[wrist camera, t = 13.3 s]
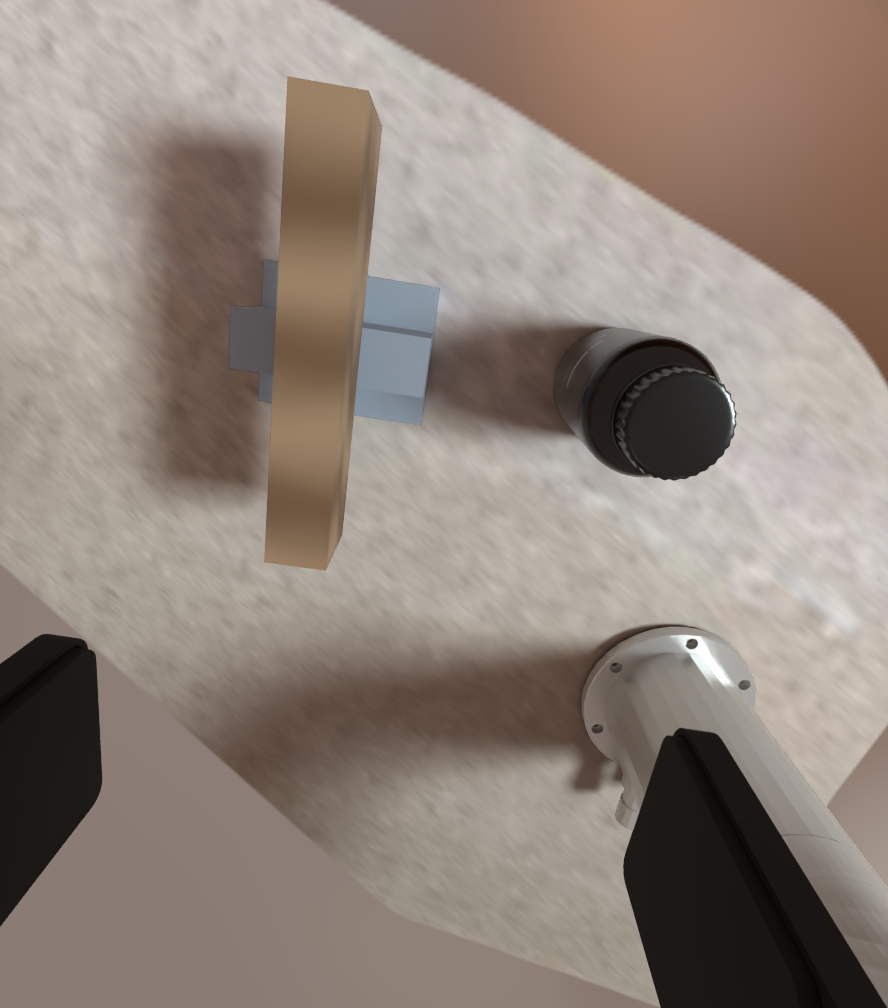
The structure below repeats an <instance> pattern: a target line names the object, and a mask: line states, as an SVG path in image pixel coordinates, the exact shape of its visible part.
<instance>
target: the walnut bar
mask: <svg viewBox="0 0 888 1008" xmlns="http://www.w3.org/2000/svg"><path fill="white" fill-rule="evenodd" d="M381 132H382V125H381V122H380V120H379V117H378V114H377V112H376V109H375V106H374V104H373V101H372V98H371V96H370V93H369V91H368V90H362V89H356V88H351V87H345V86H339V85H334V84H328V83H322V82H316V81H311V80H305V79H299V78H294V77H288V81H287V102H286V122H285V143H284V164H283V185H282V206H281V227H280V247H279V268H278V289H277V310H276V331H275V352H274V372H273V393H272V414H271V435H270V456H269V476H268V497H267V518H266V539H265V560H264V562H267V563H275V564H282V565H289V566H296V567H303V568H311V569H318V570H325V571H326V569H327V567H328V565H329V562H330V560H331V558H332V556H333V554H334V551H335V549H336V547H337V545H338V543H339V541H340V538H341V536H342V531H343V521H344V510H345V500H346V490H347V480H348V469H349V459H350V449H351V439H352V428H353V418H354V408H355V398H356V388H357V377H358V367H359V357H360V347H361V336H362V326H363V316H364V306H365V295H366V285H367V275H368V265H369V255H370V244H371V234H372V224H373V214H374V203H375V193H376V183H377V173H378V162H379V152H380V142H381Z"/></svg>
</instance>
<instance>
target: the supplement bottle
mask: <svg viewBox="0 0 888 1008" xmlns="http://www.w3.org/2000/svg"><path fill="white" fill-rule="evenodd" d="M554 396H555V401H556V405H557V408H558V410H559V413H560V415H561V416H562V418H563V420H564V421H565V422H566V424H567V425H568V426H569V427H570V429H571V430H572V431H573V432H574V433H575V434H576V435H577V437H578V438H579V439H580V440H581V441H582V442H583V444H584V445H585V446H586V447H587V448H588V449H589V451H590V452H591V453H592V454H593V455H594V456H595V457H596V458H597V459H598V460H599V461H600V462H602V463H603V464H604V465H605V466H607V467H608V468H610V469H612V470H614V471H616V472H618V473H621V474H624V475H628V476H633V477H654V478H658V477H659V478H661V479H663V480H667V479H671V480H674V481H675V480H678V479H686V478H688V477H690V476H696V475H697V474H699V473H700V472H702V471H705V470H707V469H708V467H709V466H711V465H713V464H715V463H716V461H717V460H718V458H720V457H721V456H722V455H723V454H724V451H725V449H727V448H728V447H729V446H730V440H731V439H732V438H733V436H734V428H735V426H736V421H735V418H736V411H735V410H734V406H735V403H734V402H733V401H732V400H731V394H730V393H729V392H728V391H726V389H725V386H724V384H722V383H721V381H720V378H719V376H718V373H717V371H716V369H715V367H714V366H713V364H712V363H711V362H710V360H709V359H708V358H707V357H706V356H705V355H704V354H703V353H702V352H701V351H699V350H698V349H697V348H695V347H693V346H692V345H690V344H688V343H685V342H683V341H680V340H677V339H674V338H670V337H665V336H660V335H655V334H650V333H646V332H641V331H636V330H631V329H625V328H608V329H602V330H599V331H596V332H593V333H591V334H589V335H587V336H585V337H583V338H582V339H580V340H579V341H578V342H577V343H575V344H574V345H573V346H572V347H571V348H570V349H569V351H568V352H567V353H566V354H565V356H564V357H563V359H562V361H561V363H560V365H559V367H558V370H557V373H556V377H555V382H554Z"/></svg>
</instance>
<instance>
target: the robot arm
mask: <svg viewBox="0 0 888 1008" xmlns="http://www.w3.org/2000/svg"><path fill="white" fill-rule="evenodd" d="M97 687H98V686H97V666H96V655H95V653H94V651H92V650H89V649H88V647H87V644H86V642H85V641H84V640H82V639H79V638H71V637H65V636H58V635H51V634H42V635H40V636H38V637H37V638H35V639H34V640H33V641H31V642H30V643H28V644H27V645H26V646H24V647H23V648H22V649H20V650H19V651H18V652H16V653H15V654H13V655H12V656H11V657H9V658H8V659H7V660H5V661H4V662H2V663H1V664H0V926H1V925H2V924H3V922H4V921H5V920H6V918H7V917H8V916H9V914H10V913H11V912H12V910H13V909H14V908H15V907H16V905H17V904H18V903H19V901H20V900H21V899H22V897H23V896H24V895H25V893H26V892H27V891H28V890H29V888H30V887H31V886H32V884H33V883H34V882H35V880H36V879H37V878H38V877H39V875H40V874H41V873H42V871H43V870H44V869H45V868H46V866H47V865H48V864H49V862H50V861H51V860H52V858H53V857H54V856H55V855H56V853H57V852H58V850H59V849H60V848H61V847H62V845H63V844H64V843H65V842H66V840H67V839H68V837H69V836H70V835H71V834H72V832H73V831H74V830H75V828H76V827H77V826H78V824H79V823H80V822H81V821H82V819H83V818H84V817H85V815H86V814H87V813H88V812H89V810H90V809H91V808H92V806H93V805H94V803H95V802H96V800H97V798H98V795H99V793H100V790H101V785H102V765H101V746H100V727H99V706H98V688H97ZM755 702H756V687H755V681H754V677H753V675H752V673H751V670H750V668H749V666H748V664H747V663H746V662H745V661H744V659H743V658H742V657H741V655H740V654H739V653H738V652H737V651H736V650H735V649H734V648H733V647H732V646H731V645H730V644H729V643H728V642H726V641H724V640H723V639H721V638H720V637H718V636H717V635H714V634H711V633H709V632H706V631H704V630H700V629H694V628H689V627H664V628H658V629H652V630H649V631H645V632H642V633H639V634H636V635H634V636H632V637H630V638H628V639H626V640H624V641H622V642H620V643H619V644H618V645H616V646H615V647H613V648H612V649H611V650H609V651H608V652H607V653H606V654H605V655H604V656H603V657H602V658H601V659H600V660H599V661H598V662H597V663H596V665H595V666H594V668H593V669H592V671H591V672H590V674H589V675H588V678H587V680H586V683H585V685H584V688H583V693H582V699H581V708H582V716H583V720H584V723H585V727H586V730H587V732H588V734H589V736H590V738H591V740H592V742H593V743H594V744H595V746H596V747H597V748H598V749H599V751H601V752H602V753H603V754H604V755H605V756H607V757H608V758H609V759H611V760H612V761H614V762H616V763H618V764H619V765H620V766H621V769H622V772H623V777H622V785H623V787H624V791H623V793H622V794H621V797H620V800H619V803H618V806H617V809H616V812H615V817H616V820H617V821H618V822H619V823H620V824H621V825H622V826H624V827H625V828H627V829H632V830H633V832H632V835H631V838H630V841H629V844H628V847H627V850H626V854H625V857H624V865H623V868H624V880H625V884H626V888H627V891H628V895H629V898H630V902H631V905H632V909H633V912H634V916H635V919H636V923H637V926H638V930H639V933H640V937H641V940H642V944H643V947H644V951H645V954H646V958H647V961H648V965H649V968H650V972H651V975H652V978H653V982H654V985H655V989H656V992H657V996H658V999H659V1003H660V1006H661V1008H888V888H887V887H886V885H885V884H884V883H883V882H882V880H881V879H880V878H879V876H878V875H877V873H876V872H875V871H874V869H873V868H872V867H871V866H870V864H869V863H868V862H867V860H866V859H865V858H864V857H863V855H862V854H861V853H860V851H859V850H858V849H857V847H856V846H855V845H854V843H853V842H852V841H851V839H850V838H849V837H848V835H847V834H846V833H845V831H844V830H843V828H842V827H841V826H840V824H839V823H838V822H837V821H836V819H835V818H834V817H833V815H832V814H831V812H830V811H829V810H828V808H827V807H826V806H825V804H824V803H823V802H822V800H821V799H820V798H819V796H818V795H817V794H816V792H815V791H814V790H813V788H812V787H811V786H810V784H809V783H808V782H807V780H806V779H805V778H804V776H803V775H802V774H801V772H800V771H799V770H798V768H797V767H796V766H795V764H794V763H793V762H792V760H791V759H790V758H789V756H788V755H787V754H786V752H785V751H784V750H783V748H782V747H781V746H780V744H779V743H778V742H777V740H776V739H775V738H774V736H773V735H772V734H771V732H770V731H769V730H768V728H767V727H766V726H765V724H764V723H763V722H762V720H761V719H760V718H759V716H758V715H757V714H756V712H755V711H754V707H755Z"/></svg>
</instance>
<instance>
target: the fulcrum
mask: <svg viewBox="0 0 888 1008" xmlns="http://www.w3.org/2000/svg"><path fill="white" fill-rule="evenodd" d="M278 268H279V262H277V261H270V260H264V266H263V291H262V306H242V307H230V341H229V368H230V369H237V370H243V371H250V372H256V373H259V390H258V401H263V402H270V403H272V393H273V372H274V352H275V331H276V310H277V289H278ZM439 293H440V288H437V287H431V286H424V285H418V284H412V283H406V282H400V281H394V280H387V279H381V278H375V277H369V276H367V285H366V295H365V306H364V316H363V326H362V336H361V347H360V357H359V367H358V377H357V388H356V398H355V408H354V415H356V416H363V417H369V418H376V419H382V420H389V421H396V422H402V423H409V424H415V425H421V422H422V414H423V407H424V400H425V393H426V386H427V379H428V371H429V364H430V357H431V350H432V343H433V336H434V329H435V321H436V314H437V307H438V300H439Z"/></svg>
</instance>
